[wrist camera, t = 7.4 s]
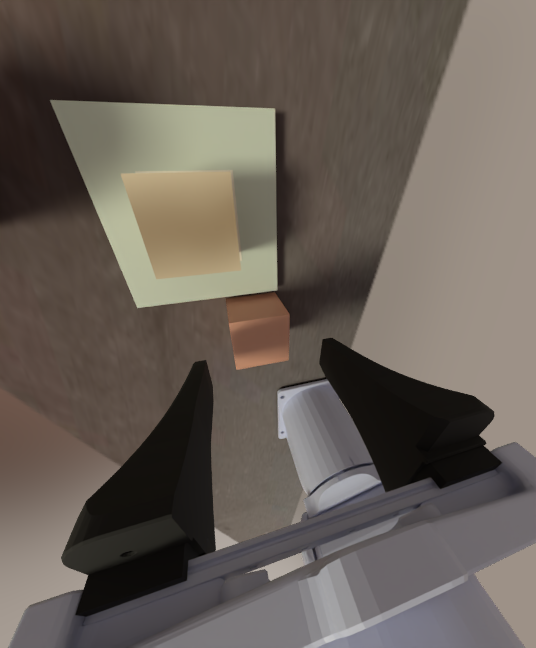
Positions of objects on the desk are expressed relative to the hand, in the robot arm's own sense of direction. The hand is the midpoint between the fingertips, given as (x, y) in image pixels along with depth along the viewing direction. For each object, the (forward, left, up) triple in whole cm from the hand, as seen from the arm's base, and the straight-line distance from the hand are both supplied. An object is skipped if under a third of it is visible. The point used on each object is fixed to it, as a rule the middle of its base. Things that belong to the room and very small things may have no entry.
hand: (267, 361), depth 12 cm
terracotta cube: (0, 0, -6) cm, 6 cm away
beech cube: (+7, +3, -5) cm, 9 cm away
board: (+7, +3, -6) cm, 10 cm away
